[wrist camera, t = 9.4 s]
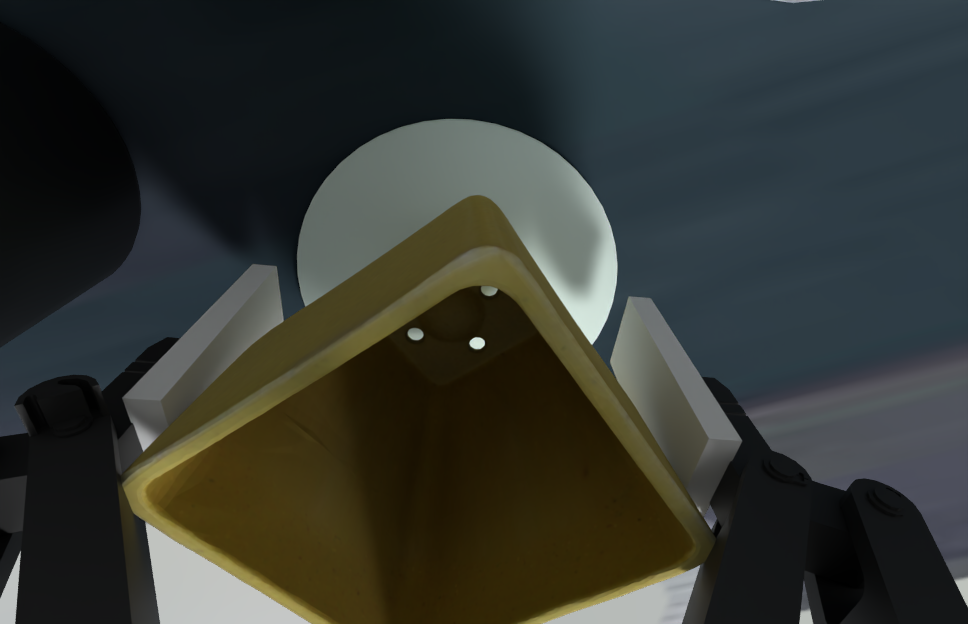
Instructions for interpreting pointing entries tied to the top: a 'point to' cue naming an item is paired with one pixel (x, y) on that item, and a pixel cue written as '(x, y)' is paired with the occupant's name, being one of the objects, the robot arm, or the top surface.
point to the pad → (446, 181)
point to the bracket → (794, 0)
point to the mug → (56, 188)
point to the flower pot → (425, 450)
